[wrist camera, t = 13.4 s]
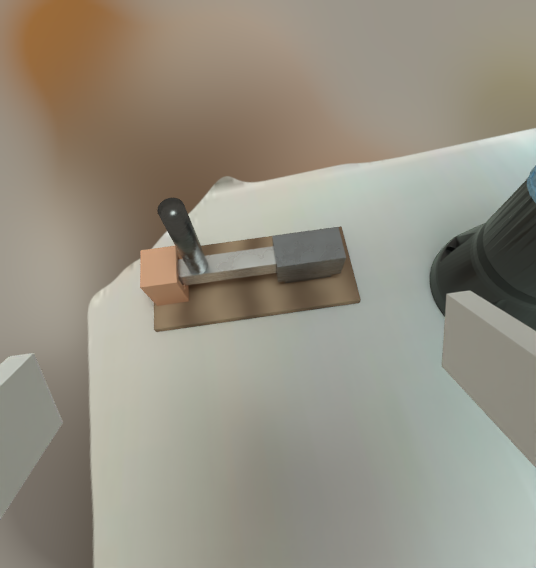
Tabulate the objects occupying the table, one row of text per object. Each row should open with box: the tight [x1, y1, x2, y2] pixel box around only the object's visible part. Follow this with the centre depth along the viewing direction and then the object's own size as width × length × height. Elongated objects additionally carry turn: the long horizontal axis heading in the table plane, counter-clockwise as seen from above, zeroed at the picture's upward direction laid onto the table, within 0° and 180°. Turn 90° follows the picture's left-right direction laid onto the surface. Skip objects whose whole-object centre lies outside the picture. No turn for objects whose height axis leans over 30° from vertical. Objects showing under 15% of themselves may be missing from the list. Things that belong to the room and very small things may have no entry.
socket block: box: [140, 246, 189, 306], centre depth 44 cm, size 4×5×6 cm
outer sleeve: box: [272, 227, 346, 283], centre depth 44 cm, size 8×4×6 cm, turn 98°
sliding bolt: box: [158, 198, 277, 286], centre depth 38 cm, size 17×2×14 cm, turn 98°
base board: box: [154, 227, 361, 332], centre depth 47 cm, size 26×11×1 cm, turn 98°
